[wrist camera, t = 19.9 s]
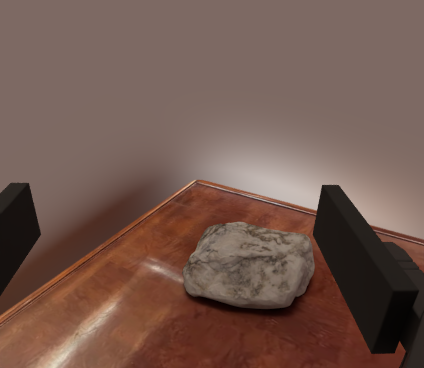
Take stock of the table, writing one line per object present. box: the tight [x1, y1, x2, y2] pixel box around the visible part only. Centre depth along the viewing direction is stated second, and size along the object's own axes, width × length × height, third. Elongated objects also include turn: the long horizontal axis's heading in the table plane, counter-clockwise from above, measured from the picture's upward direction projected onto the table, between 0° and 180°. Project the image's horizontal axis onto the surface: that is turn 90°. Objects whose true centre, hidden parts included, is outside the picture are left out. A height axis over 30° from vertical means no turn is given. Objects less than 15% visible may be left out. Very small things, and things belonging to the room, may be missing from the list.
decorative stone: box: [182, 222, 315, 309], centre depth 54 cm, size 20×13×10 cm
